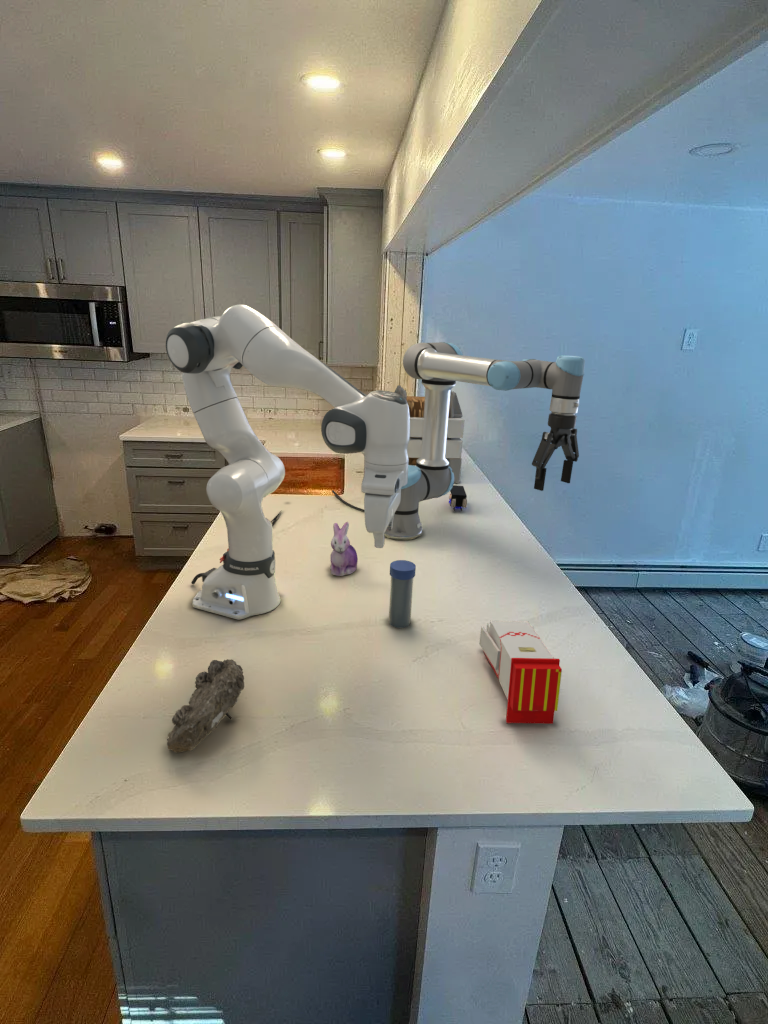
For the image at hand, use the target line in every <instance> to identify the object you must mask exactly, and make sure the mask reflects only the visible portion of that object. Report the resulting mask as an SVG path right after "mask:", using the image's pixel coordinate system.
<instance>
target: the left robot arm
mask: <svg viewBox="0 0 768 1024" xmlns="http://www.w3.org/2000/svg"><path fill="white" fill-rule="evenodd" d="M165 352H166V355H167V357H168V360H169V361H170V363H171V364H172V366H174V368H175V369H176V370H177V371H179V372H181V378H182V384H183V387H184V391H185V395H186V397H187V401H188V404H189V406H190V409H191V411H192V413H193V416H194V419H195V421H196V423H197V425H198V428H199V430H200V432H201V435H202V437H203V439H204V441H205V443H206V444H207V446H209V447H210V448H212V449H214V450H216V451H217V452H218V453H219V454H221V456H223V458H224V459H225V461H226V462H227V463H228V465H225V466H222V467H220V468H219V470H218V471H216V472H215V473H214V474H213V475H212V476H211V477H210V478H209V479H208V481H207V484H206V490H205V491H206V496H207V499H208V501H209V502H210V504H211V505H212V507H214V508H215V510H217V511H219V512H220V513H221V516H222V517H223V519H224V522H225V526H226V532H227V544H228V545H227V547H228V548H227V550H226V551H224V553H222V556H221V557H220V558H219V564H221V563H222V564H221V565H220V566H218V567H213V568H210V569H209V570H207V571H205V572H200V573H198V574H196V575H195V576H194V577H193V579H192V580H191V582H190V584H192V585H195V584H196V582H197V581H198V579H200V578H201V580H202V585H201V589H200V590H199V591H198V592H197V593H196V594H195V596H194V597H193V599H192V608H194V609H197V610H201V611H205V612H208V613H212V614H216V615H220V616H223V617H227V618H231V619H234V620H237V621H238V620H244V619H246V618H249V617H252V616H258V615H263V614H265V613H270V612H271V611H273V610H275V609H276V608H278V606H279V605H280V604H281V597H280V596H281V595H280V593H279V590H278V586H277V581H276V575H275V573H276V554H275V550H274V541H273V538H274V536H273V535H274V533H273V526H272V525H273V524H272V522H271V521H270V519H269V518H267V517H266V516H265V513H264V510H263V500H264V499H265V498H266V497H267V496H269V495H271V494H273V493H274V492H275V491H276V490H277V489H278V488H279V487H280V486H281V484H282V483H283V481H284V480H285V476H286V469H285V465H284V463H283V461H282V460H281V459H280V457H279V456H277V455H276V454H275V453H272V452H271V451H269V450H268V448H267V447H266V446H265V445H264V444H263V443H262V441H261V440H260V439H259V437H258V436H257V435H256V432H255V431H254V430H253V428H252V426H251V424H250V422H249V420H248V418H247V415H246V413H245V411H244V409H243V406H242V404H241V401H240V399H239V397H238V394H237V392H236V390H235V389H234V386H233V383H232V381H231V371H232V370H233V369H235V370H241V369H242V368H243V367H244V368H245V369H246V371H248V372H249V373H250V374H251V375H252V376H253V377H254V378H256V379H258V380H259V381H261V382H262V383H264V384H265V385H268V386H270V387H273V388H274V387H275V388H284V389H294V390H302V391H306V392H310V393H312V394H315V395H317V396H318V397H320V398H322V399H323V400H324V401H326V402H327V403H328V404H329V405H330V406H331V407H333V408H331V409H329V410H327V412H326V413H325V414H324V416H323V418H322V421H321V425H320V429H321V430H320V431H321V438H322V440H323V441H324V444H325V445H326V446H327V447H328V448H329V449H330V450H331V451H332V452H334V453H336V454H343V455H344V454H345V455H348V454H359V453H360V454H362V455H363V478H362V480H361V488H360V490H361V491H360V492H361V493H362V494H364V498H363V509H364V512H363V513H364V526H365V530H366V532H367V533H370V534H372V535H373V539H374V543H373V544H374V547H375V548H377V549H383V548H384V546H385V541H386V540H385V539H386V537H384V533H385V531H391V530H392V528H393V519H394V514H395V511H396V510H397V508H398V506H399V504H400V500H401V487H403V486H405V485H406V484H407V483H408V461H409V458H408V454H407V446H408V443H409V439H410V414H409V406H408V403H407V401H406V399H405V398H404V397H402V396H401V395H399V394H397V393H394V392H395V391H394V392H393V391H390V390H382V389H381V390H380V389H378V390H377V389H376V390H372V391H370V392H369V393H368V394H366V393H364V392H363V391H362V390H360V389H359V388H357V387H356V386H355V385H354V384H352V383H351V382H349V380H347V379H345V377H343V376H342V375H341V374H339V373H338V372H337V371H335V370H334V369H333V368H331V367H330V366H329V365H327V364H326V363H325V362H323V361H321V360H320V359H319V358H317V357H316V356H314V355H313V354H311V352H309V351H308V350H306V349H305V348H303V347H302V346H301V345H300V344H299V343H298V342H296V341H295V340H294V339H292V338H291V336H289V334H287V333H285V331H284V330H282V329H281V328H280V327H279V326H277V324H275V322H273V321H271V319H269V318H268V317H267V316H265V315H264V314H262V313H261V312H259V311H258V310H256V309H254V308H253V307H251V306H249V305H246V304H242V303H241V304H239V303H238V304H233V305H232V306H230V307H228V308H227V309H226V310H224V311H223V313H222V314H221V315H217V316H209V317H205V318H203V319H198V320H195V321H191V322H183V323H180V324H178V325H176V326H174V327H172V328H171V329H170V330H168V333H167V334H166V338H165Z"/></svg>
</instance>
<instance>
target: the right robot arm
mask: <svg viewBox="0 0 768 1024" xmlns="http://www.w3.org/2000/svg"><path fill="white" fill-rule="evenodd" d="M585 365H586V360H585V358H584V357H582V356H578V355H566V354H565V355H564V354H563V355H558V356H557V357H556V360H555V361H549V360H541V359H536V358H524V359H521V360H506V359H505V360H504V359H503V360H502V359H496V358H487V357H479V356H471V355H464V354H463V352H462V350H461V349H460V347H459V346H457V345H456V344H455V343H451V342H445V341H443V342H442V341H441V342H440V341H439V342H438V341H437V342H417V343H414V344H412V345H411V346H409V347H408V348H407V350H406V351H405V353H404V355H403V358H402V366H403V369H404V372H405V373H406V374H407V375H408V376H409V377H411V378H412V379H415V380H421V385H422V386H423V387H424V389H425V392H424V397H425V404H424V419H423V434H422V449H421V457H420V458H418V459H417V461H416V466H413V465H408V483H407V484H406V485H405V486H403V487H401V500H400V504H399V506H398V508H397V510H396V511H395V514H394V519H393V528H392V530H391V531H385V533H384V538H387V539H389V540H395V541H410V540H415V539H418V538H420V537H421V536H422V535H423V524H422V521H421V518H420V515H419V507H420V506H419V505H420V502H423V501H427V500H431V499H437V498H440V497H443V496H446V495H448V493H450V490H451V489H452V487H453V485H454V484H455V483H454V473H452V469H451V467H450V466H449V462H448V461H447V459H446V458H445V453H446V441H447V428H448V416H449V404H450V392H451V391H452V389H453V388H454V387H455V386H456V384H457V382H461V383H465V384H473V385H479V386H487V387H491V388H492V389H494V390H496V391H503V392H504V391H511V390H520V389H532V388H533V389H534V388H539V389H546V390H551V398H550V404H549V413H548V418H547V419H548V420H547V426H548V427H549V428H550V431H549V432H548V431H543V432H542V435H541V440H540V442H539V445H538V447H537V449H536V452H535V454H534V457H533V460H532V461H531V466H533V467H535V475H534V477H535V478H534V485H533V489H534V490H537V491H539V492H543V491H544V489H545V484H546V483H545V482H546V476H547V468H546V466H547V465H548V463H549V461H550V459H551V457H552V456H553V454H554V453H555V451H556V450H557V449H558V448H560V447H561V449H562V452H563V455H564V458H565V459H563V463H562V468H561V469H562V470H561V475H560V482H562V483H566V484H571V478H572V472H573V466H574V463H576V462H578V461H579V457H580V453H579V444H578V428H576V423H577V419H578V416H577V414H578V412H579V411H578V410H579V406H580V397H581V391H582V385H583V380H584V376H585ZM331 492H332V494H333V495H334V496H336V498H338V499H339V500H340V501H341V502H342V503H343V504H345V505H347V506H348V507H351V508H353V509H355V510H357V511H361V512H362V513H364V508H361V507H358V506H356V505H353V504H351V503H348V502H347V501H345V499H343V498H342V497H341V496H339V494H337V492H336V491H335V490H331Z"/></svg>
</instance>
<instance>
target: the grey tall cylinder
mask: <svg viewBox="0 0 768 1024" xmlns="http://www.w3.org/2000/svg"><path fill="white" fill-rule="evenodd" d="M413 591H414V578H412V579H409V580H399V579H395V578H393V577H391V576H390V589H389V606H388V624H389V625H390V626H391V627H392V628H397V629H404V628H408V627H409V626H410V625H411V622H412V621H411V620H412V604H413Z"/></svg>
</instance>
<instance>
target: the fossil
mask: <svg viewBox="0 0 768 1024" xmlns="http://www.w3.org/2000/svg"><path fill="white" fill-rule="evenodd" d="M243 670H244V669H243V667H242V665H240V664H237V662H236V661H235V660H234V659H232V658H231V659H227V658H226V659H224V660H223V661H222V660H217V659H212V660H211V661H210V663H209V665H208V666H207V671H201V672H199V673H198V674H197V675H196V676H195V680H194V684H195V685H194V687H195V689H194V690H193V693H192V694H191V697H190V698H189V700H188V704H184V705H182V706H181V707H180V709H177V710H176V711H175V713H174V715H173V716H172V718H171V723H172V724H173V727H172V730H171V731H170V732H168V734H167V738H166V741H167V742H166V745H167V749H168V750H169V751H173V752H174V753H176V754H178V753H182V752H188V751H189V752H192V751H193V750H195V748H196V747H197V746H199V744H200V743H201V742H203V741H204V740H205V739H206V738H207V737H208V736H209V735H210V734H211V733H212V732H214V730H215V729H217V727H218V726H219V724H220V722H221V721H222V720H223V719H224V718H225V716H226V717H227V719H229V720H233V717H232V715H230V714H229V710H230V709H231V708H234V706H235V704H236V703H237V702H238V699H239V697H240V695H241V693H242V691H243V690H245V689H244V688H245V675H244V671H243Z"/></svg>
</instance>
